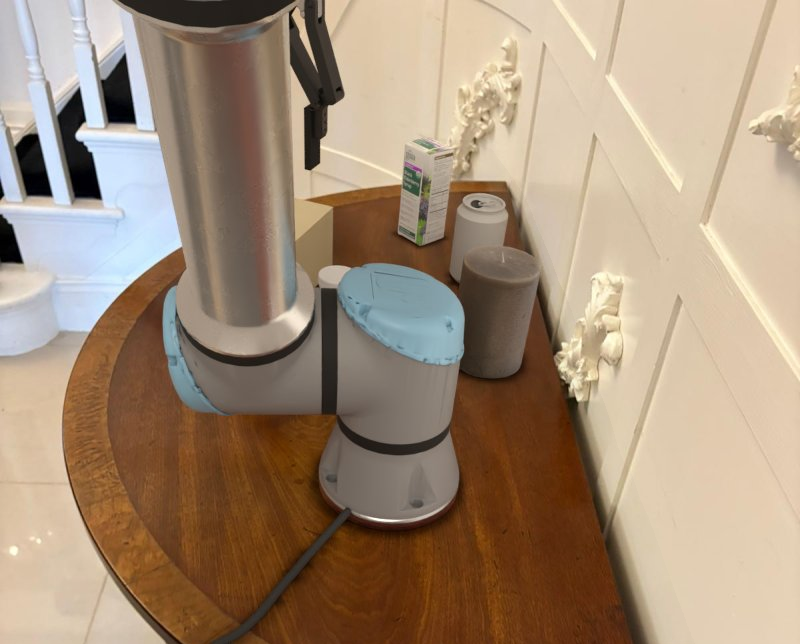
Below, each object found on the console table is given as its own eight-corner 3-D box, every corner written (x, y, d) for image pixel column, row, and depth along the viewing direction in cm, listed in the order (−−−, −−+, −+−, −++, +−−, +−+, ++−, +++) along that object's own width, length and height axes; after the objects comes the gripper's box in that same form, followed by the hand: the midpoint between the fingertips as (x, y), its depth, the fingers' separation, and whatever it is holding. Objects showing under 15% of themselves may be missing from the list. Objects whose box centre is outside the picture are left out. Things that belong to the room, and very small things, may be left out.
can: (451, 264, 124) (460, 187, 116) (498, 270, 124) (511, 193, 115) (446, 286, 119) (456, 207, 110) (495, 293, 118) (509, 214, 110)
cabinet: (290, 313, 110) (288, 247, 103) (204, 290, 113) (197, 224, 106) (332, 269, 120) (333, 206, 113) (252, 249, 123) (248, 187, 116)
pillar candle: (460, 381, 101) (476, 272, 91) (442, 340, 108) (455, 234, 97) (531, 377, 103) (556, 270, 92) (509, 337, 110) (529, 233, 99)
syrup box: (396, 234, 130) (402, 141, 120) (421, 225, 133) (430, 134, 123) (419, 247, 127) (428, 153, 117) (445, 238, 131) (456, 146, 120)
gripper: (382, -66, 77) (371, 165, 92) (170, -99, 81) (194, 127, 97) (352, -56, 72) (346, 188, 87) (128, -91, 76) (160, 146, 92)
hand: (266, 156), depth 92 cm, fingers open, 11 cm apart
